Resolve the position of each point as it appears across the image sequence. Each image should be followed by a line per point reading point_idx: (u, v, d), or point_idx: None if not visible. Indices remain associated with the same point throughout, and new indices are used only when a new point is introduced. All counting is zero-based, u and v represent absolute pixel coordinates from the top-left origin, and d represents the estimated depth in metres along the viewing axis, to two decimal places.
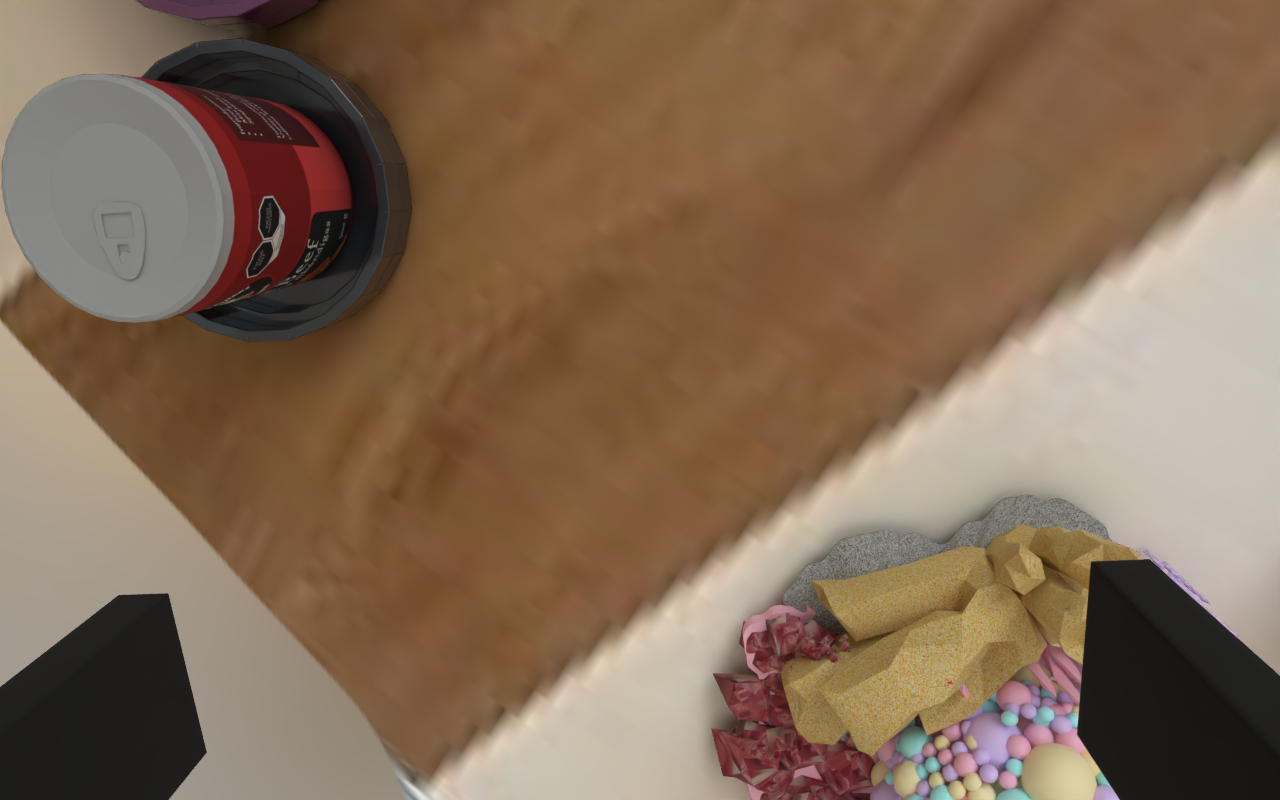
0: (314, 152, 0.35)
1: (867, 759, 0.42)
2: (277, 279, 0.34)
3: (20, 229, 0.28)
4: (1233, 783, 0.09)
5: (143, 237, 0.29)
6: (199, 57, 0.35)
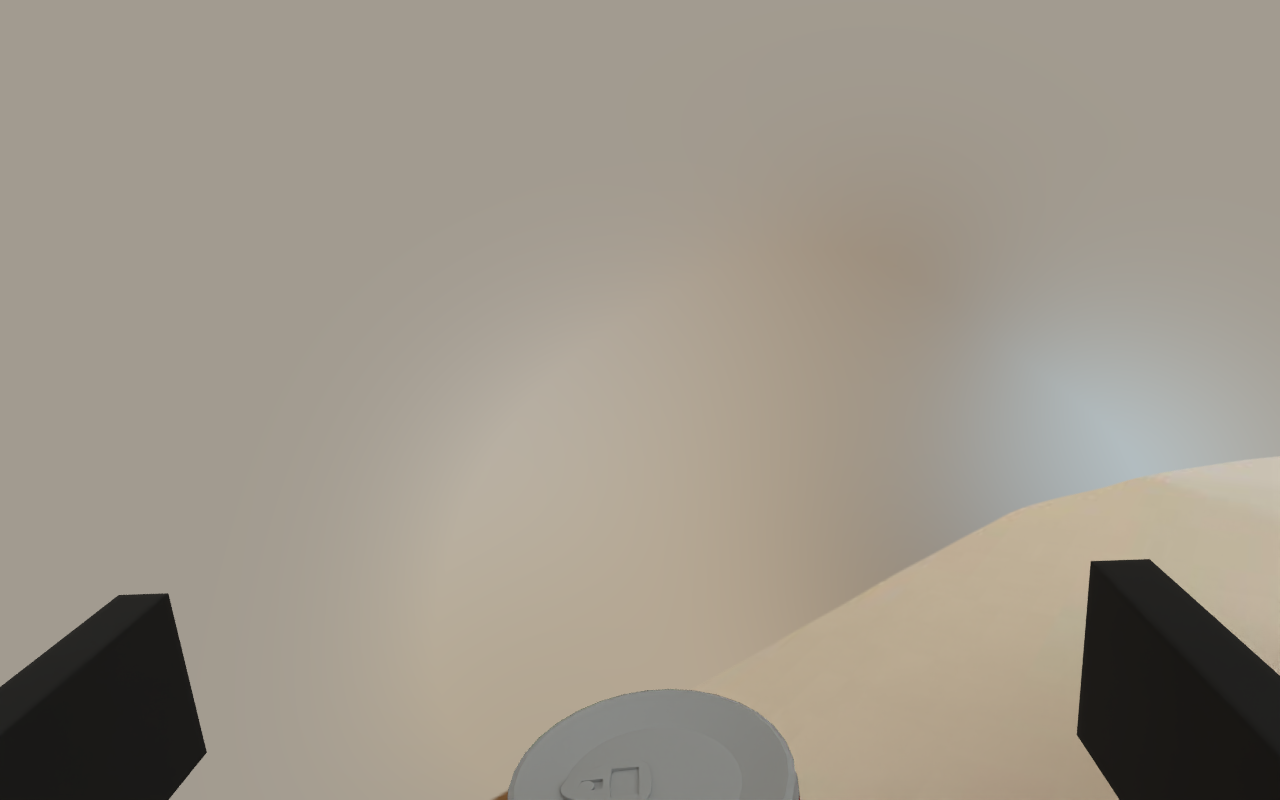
0: None
1: None
2: None
3: (627, 699, 0.27)
4: (1233, 783, 0.09)
5: None
6: None
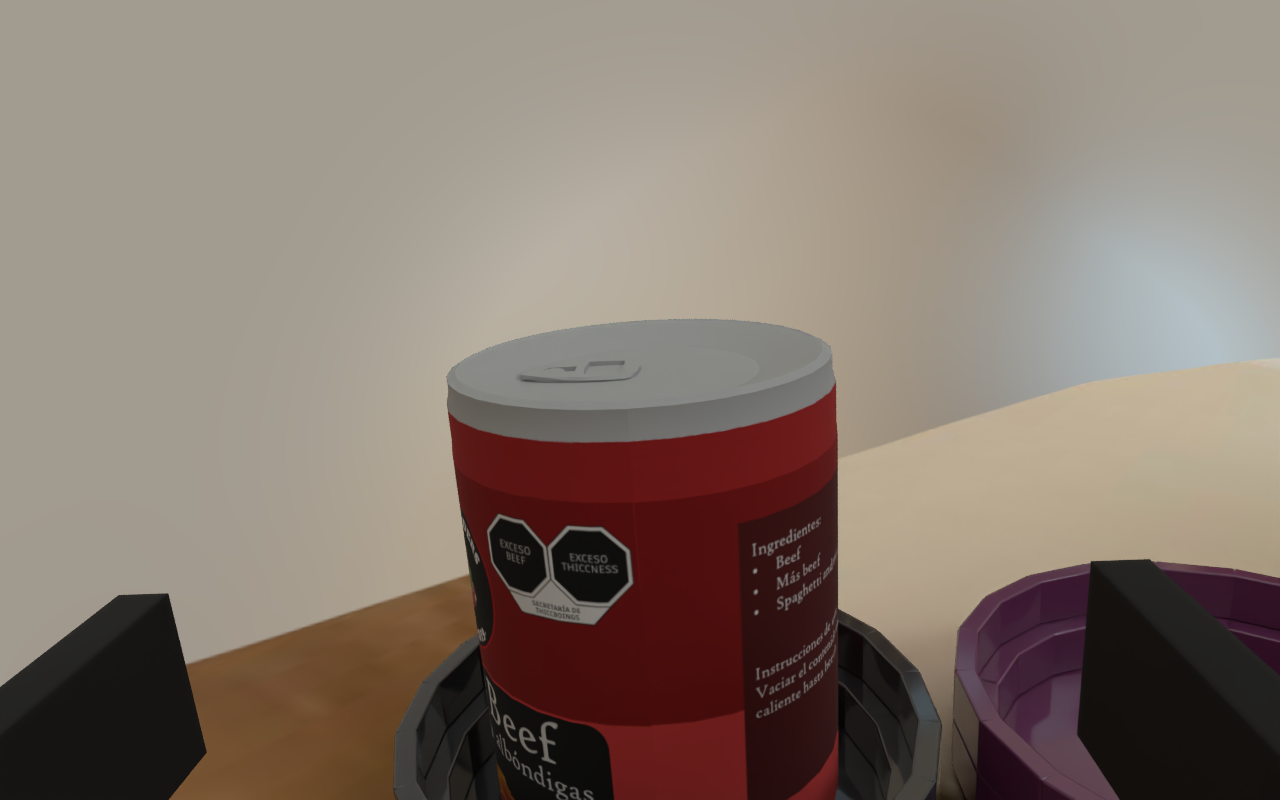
0: (735, 787, 0.17)
1: None
2: (491, 655, 0.18)
3: (619, 326, 0.21)
4: (1233, 783, 0.09)
5: (580, 381, 0.17)
6: (895, 676, 0.21)
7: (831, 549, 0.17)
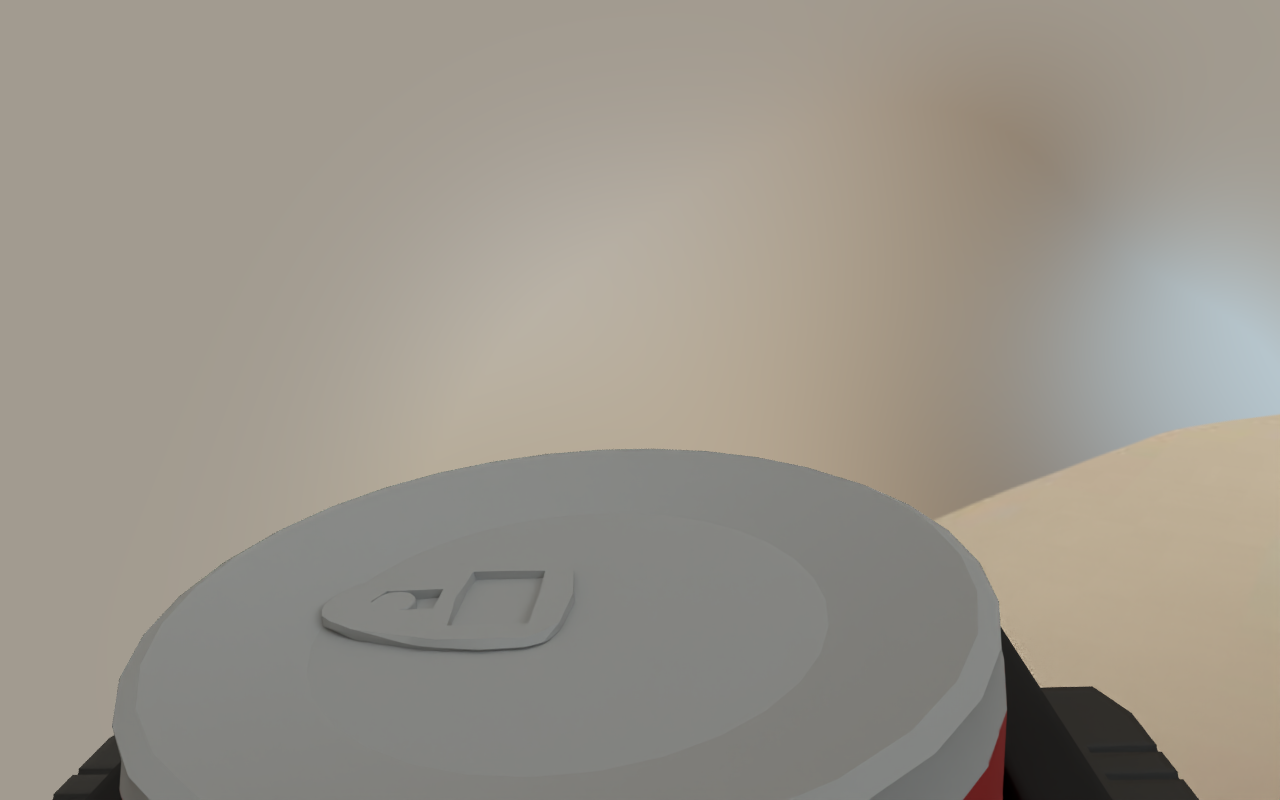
0: None
1: None
2: None
3: (552, 461, 0.12)
4: None
5: (437, 646, 0.08)
6: None
7: None
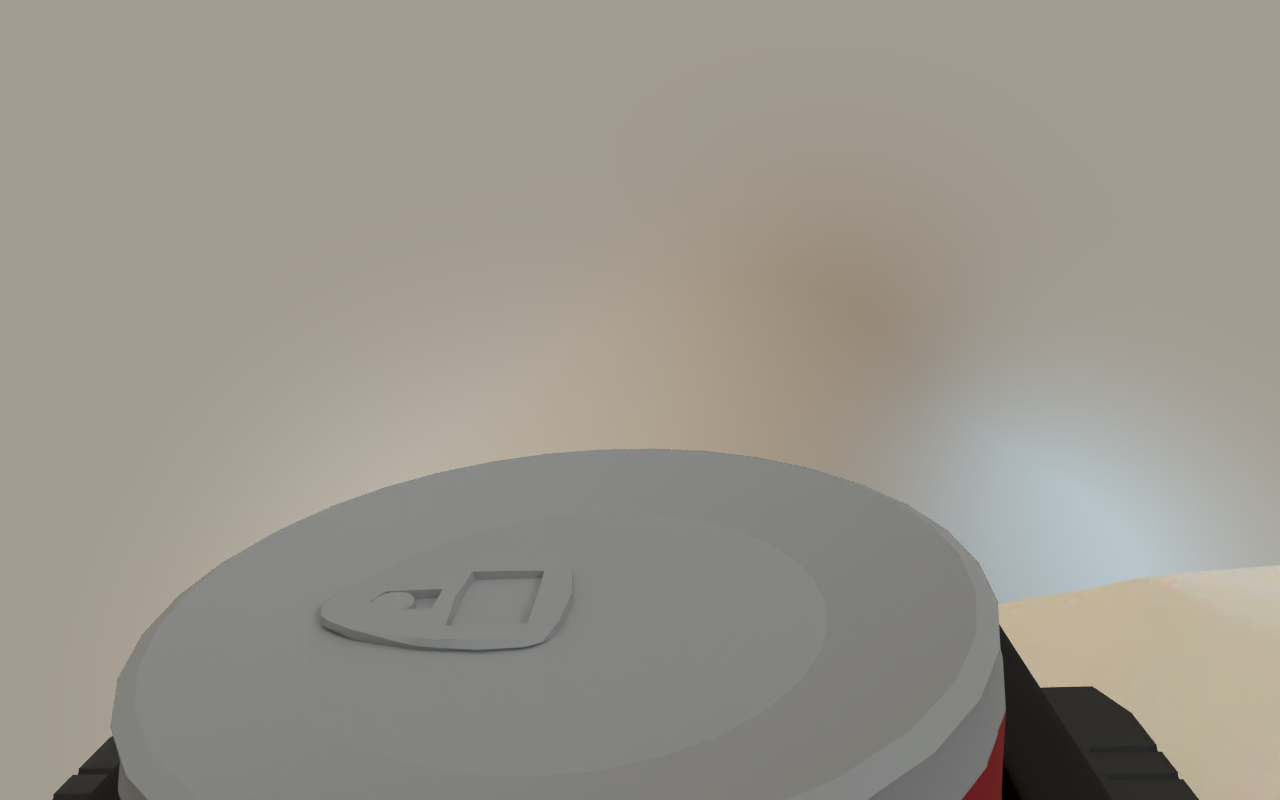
0: None
1: None
2: None
3: (552, 461, 0.12)
4: None
5: (436, 646, 0.08)
6: None
7: None
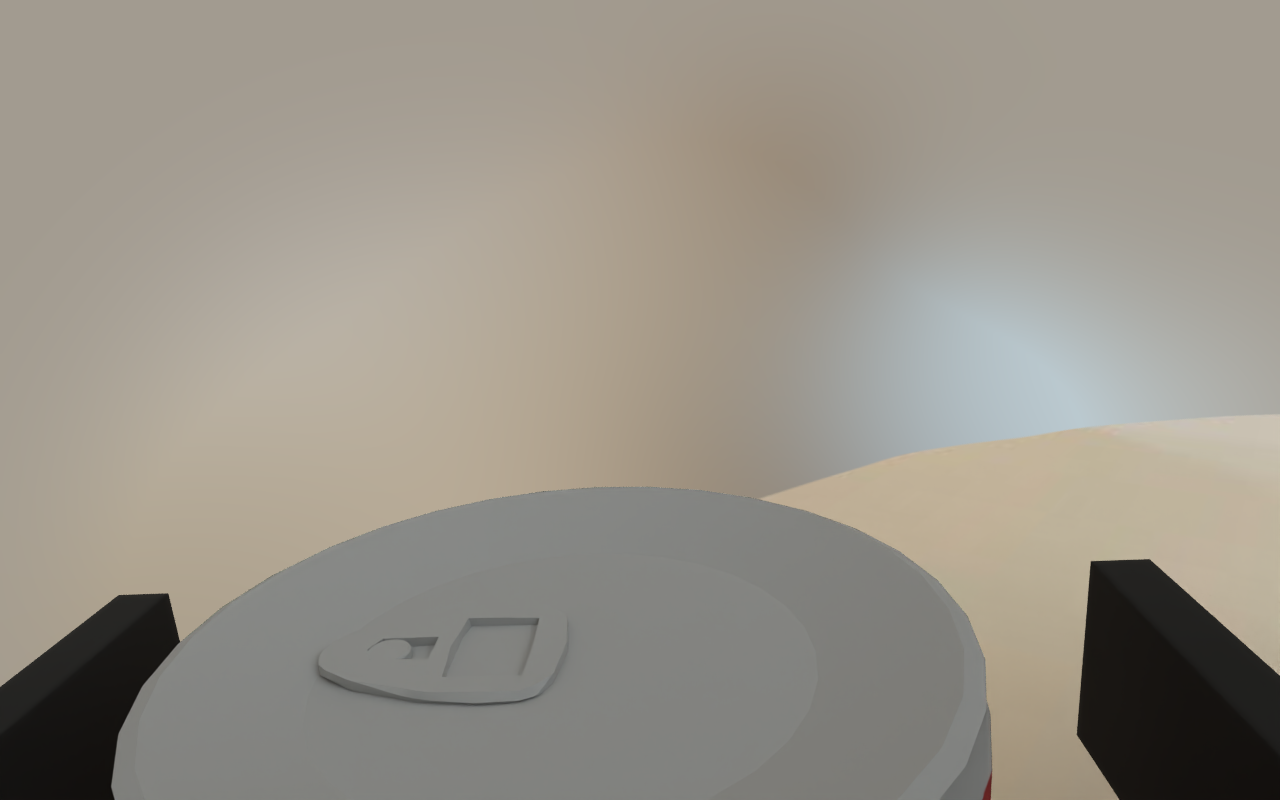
0: None
1: None
2: None
3: (548, 499, 0.12)
4: (1233, 783, 0.09)
5: (432, 699, 0.08)
6: None
7: None
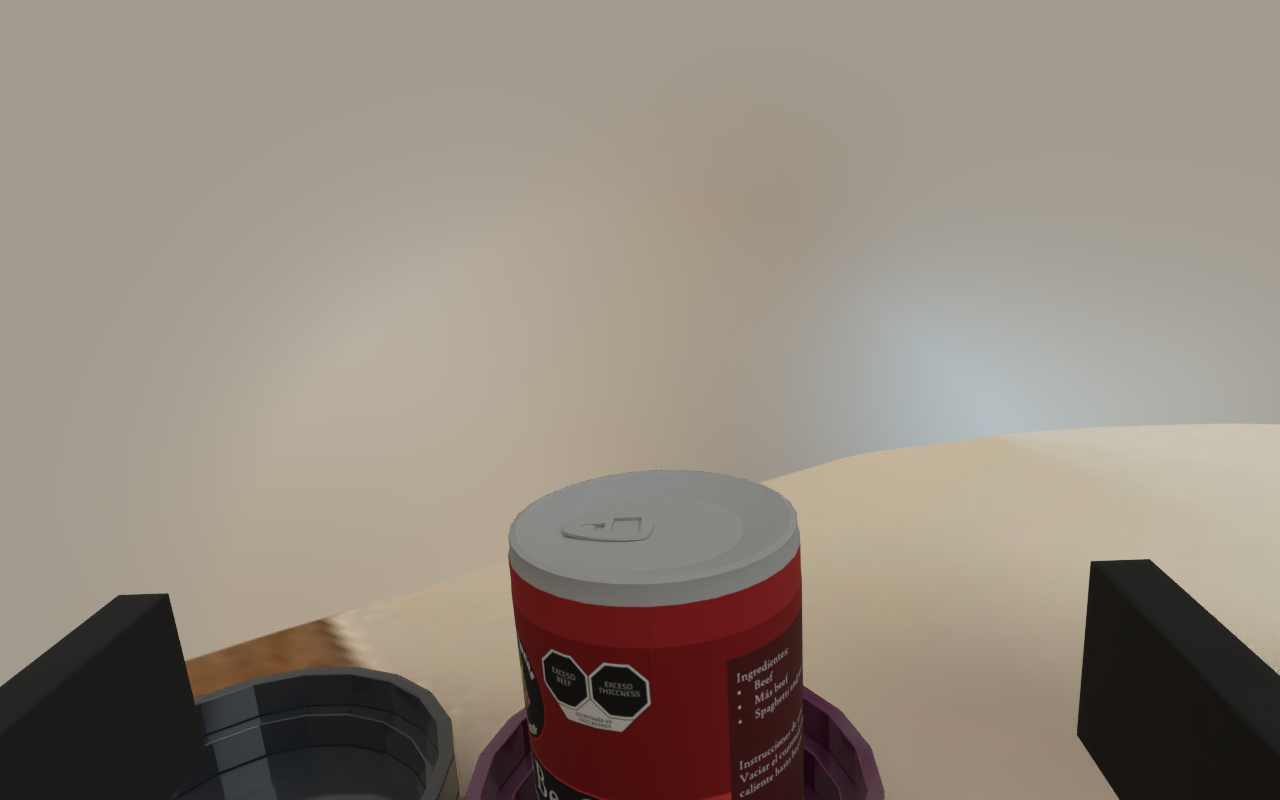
0: None
1: None
2: (541, 746, 0.23)
3: (635, 475, 0.27)
4: (1233, 783, 0.09)
5: (609, 540, 0.23)
6: (439, 758, 0.28)
7: (796, 667, 0.23)
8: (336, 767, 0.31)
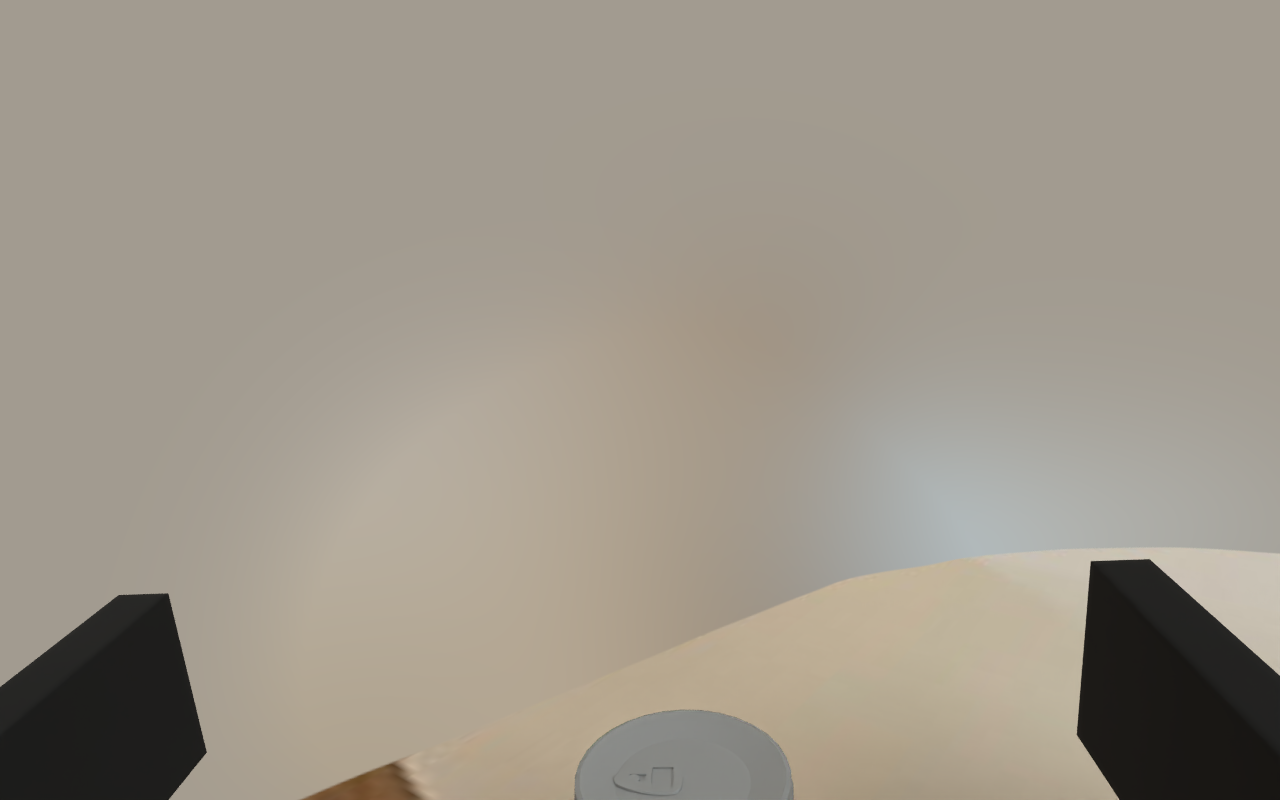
0: None
1: None
2: None
3: (666, 715, 0.35)
4: (1233, 783, 0.09)
5: (650, 793, 0.31)
6: None
7: None
8: None
